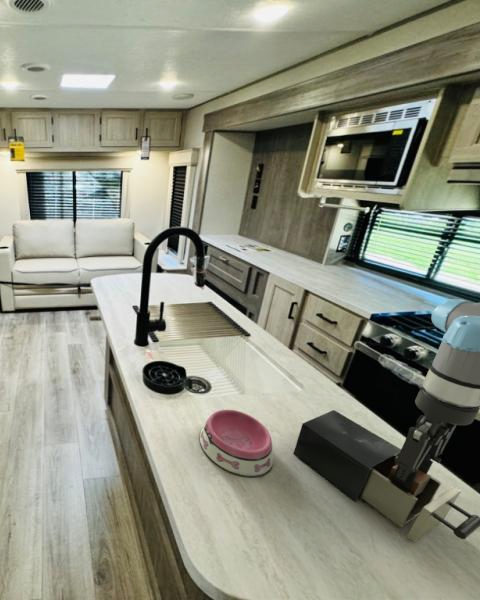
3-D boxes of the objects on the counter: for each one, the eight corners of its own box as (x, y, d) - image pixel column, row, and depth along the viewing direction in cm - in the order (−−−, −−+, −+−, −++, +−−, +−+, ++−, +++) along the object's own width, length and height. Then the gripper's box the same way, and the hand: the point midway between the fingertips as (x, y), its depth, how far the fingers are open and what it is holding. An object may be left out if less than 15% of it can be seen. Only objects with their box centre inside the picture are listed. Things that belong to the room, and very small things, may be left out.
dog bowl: (287, 480, 77) (293, 459, 74) (209, 474, 78) (213, 454, 76) (255, 425, 94) (259, 406, 91) (192, 421, 96) (194, 403, 93)
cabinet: (386, 482, 76) (402, 449, 72) (354, 502, 71) (369, 468, 67) (323, 439, 88) (333, 409, 84) (293, 454, 84) (302, 423, 80)
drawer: (474, 540, 63) (494, 510, 59) (444, 565, 59) (464, 535, 55) (369, 469, 78) (380, 442, 75) (340, 485, 74) (351, 458, 71)
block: (422, 491, 66) (430, 476, 65) (411, 499, 65) (419, 484, 63) (396, 474, 70) (403, 460, 68) (385, 481, 68) (392, 466, 67)
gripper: (454, 422, 52) (404, 516, 61) (502, 395, 58) (450, 483, 67) (398, 396, 59) (360, 484, 67) (446, 373, 65) (406, 457, 73)
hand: (405, 483), depth 67 cm, fingers open, 5 cm apart
